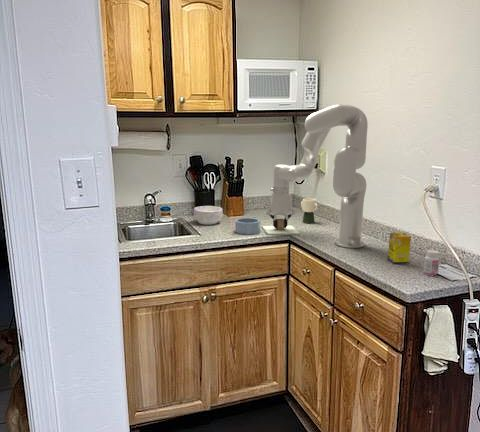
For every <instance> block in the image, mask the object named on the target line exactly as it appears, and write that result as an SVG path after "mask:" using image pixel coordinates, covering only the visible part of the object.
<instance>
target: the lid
mask: <svg viewBox="0 0 480 432" xmlns="http://www.w3.org/2000/svg"><path fill="white" fill-rule="evenodd" d="M276 220H277V228H276V229H275V228H274V226H273V225H262V228H263V229H264V231H265V232H266V233H267V235H266V236H289V235H288V234H300V232H299V231H298V230H297V229H296V228H295V227H294V226H293V225H287V226H286V228H284V222H285V219H284V218H280V217H279V218H276ZM262 228H261V229H262ZM263 229H262V230H263ZM264 231H263V232H264ZM265 232H264V233H265Z"/></svg>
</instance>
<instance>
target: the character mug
mask: <svg viewBox="0 0 480 432" xmlns="http://www.w3.org/2000/svg"><path fill="white" fill-rule="evenodd" d="M300 207H301V209H302V212H304V213H303V217H302V223H304V224H314V223H315V215H314V212H316V211H318V210H319V205H318V203H317V199H316V198H308V197H307V198H305V197H304V198H303V199H302V201H301V202H300Z"/></svg>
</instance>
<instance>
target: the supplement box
mask: <svg viewBox="0 0 480 432" xmlns="http://www.w3.org/2000/svg"><path fill="white" fill-rule="evenodd" d="M388 241H389V242H388V253H387V254H388V255H387V260H388V261H390V262H391V263H392V264H393V265H408V264H410V262H409V261H410V253H411V252H410V249H411V241H412V236H410V235H409V234H407V233H405V232H390V233H389V240H388Z"/></svg>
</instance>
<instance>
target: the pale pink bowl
mask: <svg viewBox="0 0 480 432" xmlns="http://www.w3.org/2000/svg"><path fill="white" fill-rule="evenodd" d="M223 210H224V209H223V208H222V207H220V206H214V205H202V206H201V205H200V206H196V207H194V208H193V219H195V220H197V222H198V223H199V224H200V225H206V226H208V225H209V226H211V225H216V224H218V223H219V221H220V220H221V219H222V218H223V213H224V212H223Z"/></svg>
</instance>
